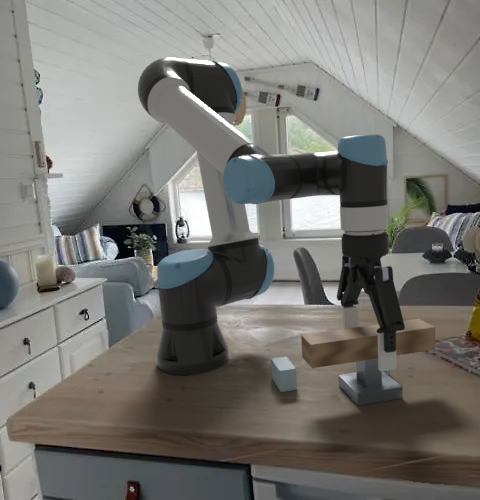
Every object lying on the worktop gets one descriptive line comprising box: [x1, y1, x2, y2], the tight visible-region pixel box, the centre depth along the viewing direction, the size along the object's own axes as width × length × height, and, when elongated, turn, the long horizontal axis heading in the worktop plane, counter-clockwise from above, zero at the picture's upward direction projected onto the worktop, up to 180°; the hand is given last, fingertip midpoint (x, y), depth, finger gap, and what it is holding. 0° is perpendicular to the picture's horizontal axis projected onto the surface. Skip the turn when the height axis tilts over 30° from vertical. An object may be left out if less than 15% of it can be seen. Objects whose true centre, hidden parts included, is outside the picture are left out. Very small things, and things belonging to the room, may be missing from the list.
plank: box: [300, 318, 436, 369], centre depth 83 cm, size 22×5×4 cm, turn 101°
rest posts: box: [270, 356, 391, 393], centre depth 92 cm, size 21×6×4 cm, turn 101°
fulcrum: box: [338, 358, 404, 407], centre depth 84 cm, size 8×8×7 cm
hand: (368, 354), depth 84 cm, fingers open, 13 cm apart
